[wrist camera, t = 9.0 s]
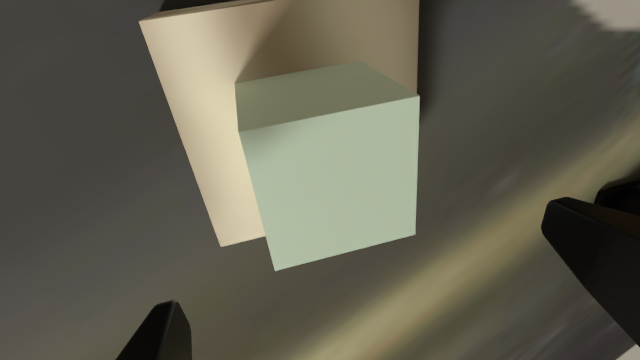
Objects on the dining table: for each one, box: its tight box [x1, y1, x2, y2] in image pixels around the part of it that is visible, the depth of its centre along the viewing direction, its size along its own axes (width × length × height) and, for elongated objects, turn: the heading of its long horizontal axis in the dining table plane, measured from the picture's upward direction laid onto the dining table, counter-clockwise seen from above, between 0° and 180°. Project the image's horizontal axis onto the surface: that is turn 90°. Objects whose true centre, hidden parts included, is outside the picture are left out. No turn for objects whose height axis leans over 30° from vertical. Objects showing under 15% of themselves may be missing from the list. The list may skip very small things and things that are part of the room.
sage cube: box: [234, 61, 420, 271], centre depth 13 cm, size 5×5×5 cm
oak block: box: [139, 0, 419, 247], centre depth 16 cm, size 10×10×4 cm
